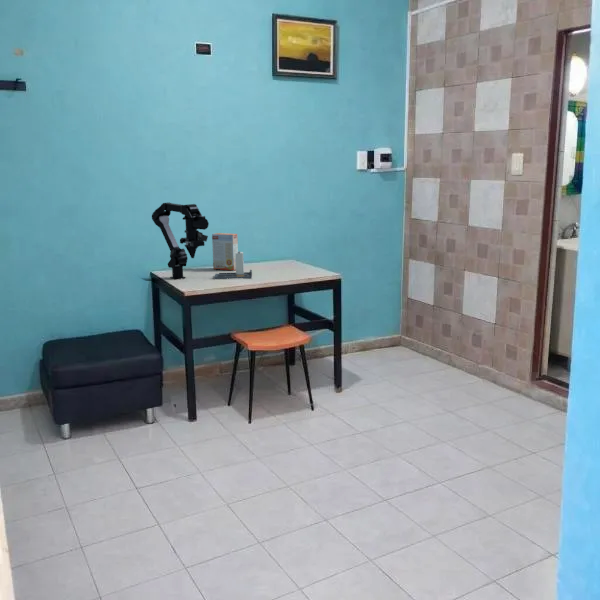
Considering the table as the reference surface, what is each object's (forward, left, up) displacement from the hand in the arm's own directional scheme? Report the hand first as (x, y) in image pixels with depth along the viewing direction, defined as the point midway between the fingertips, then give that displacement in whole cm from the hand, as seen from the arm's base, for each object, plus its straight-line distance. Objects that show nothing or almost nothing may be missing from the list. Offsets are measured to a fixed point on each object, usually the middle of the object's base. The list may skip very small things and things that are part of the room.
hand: (192, 258), depth 341 cm
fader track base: (+3, +22, -12) cm, 25 cm away
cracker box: (-22, +30, -12) cm, 39 cm away
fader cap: (+5, +25, -11) cm, 28 cm away
